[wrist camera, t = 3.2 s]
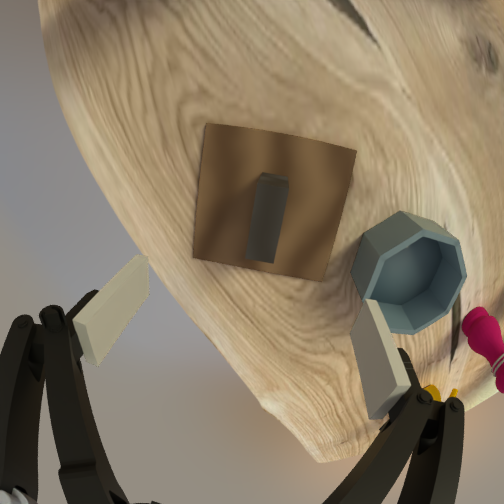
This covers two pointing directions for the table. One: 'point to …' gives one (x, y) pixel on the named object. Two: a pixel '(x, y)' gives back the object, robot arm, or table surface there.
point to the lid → (270, 200)
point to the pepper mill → (486, 341)
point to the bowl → (409, 271)
